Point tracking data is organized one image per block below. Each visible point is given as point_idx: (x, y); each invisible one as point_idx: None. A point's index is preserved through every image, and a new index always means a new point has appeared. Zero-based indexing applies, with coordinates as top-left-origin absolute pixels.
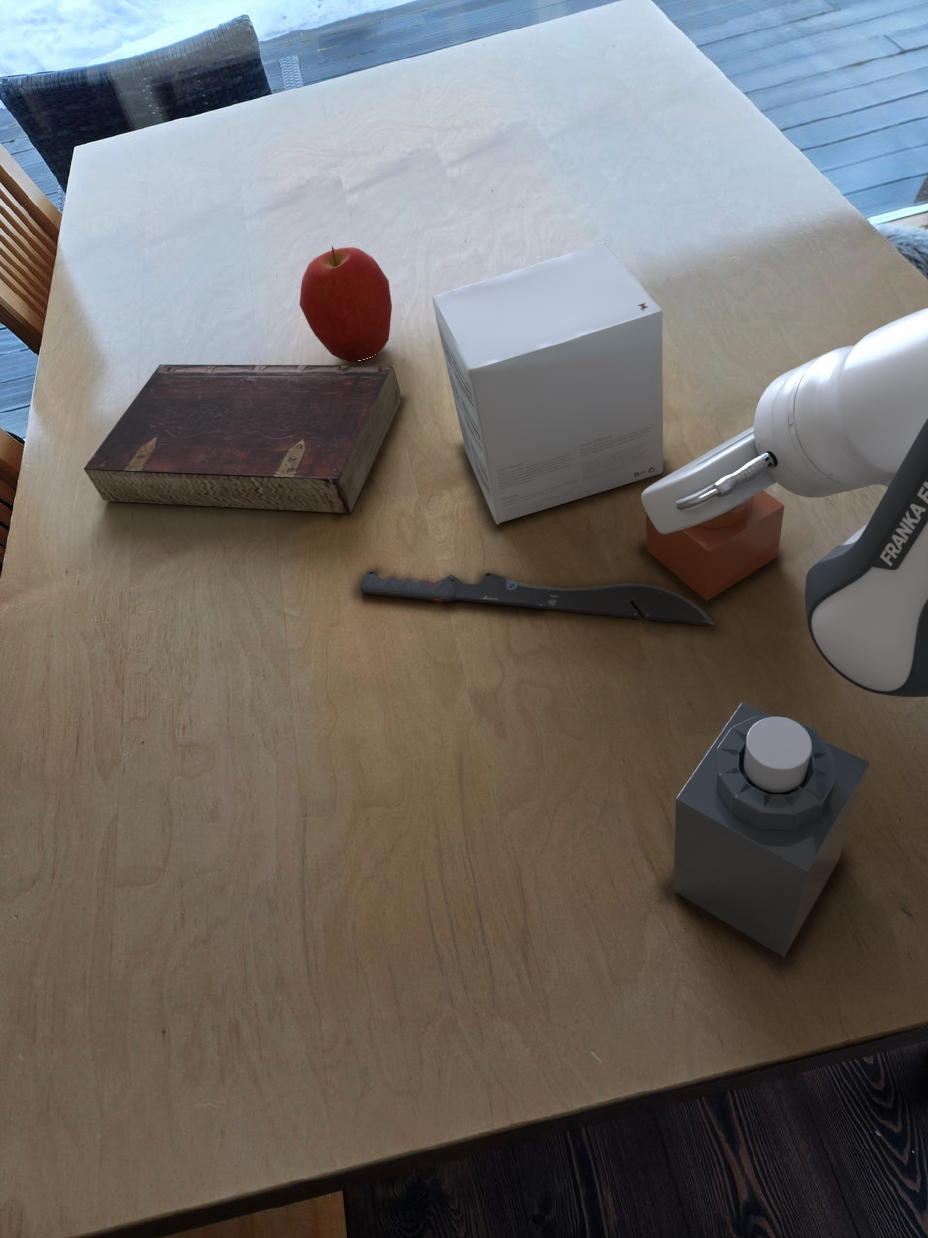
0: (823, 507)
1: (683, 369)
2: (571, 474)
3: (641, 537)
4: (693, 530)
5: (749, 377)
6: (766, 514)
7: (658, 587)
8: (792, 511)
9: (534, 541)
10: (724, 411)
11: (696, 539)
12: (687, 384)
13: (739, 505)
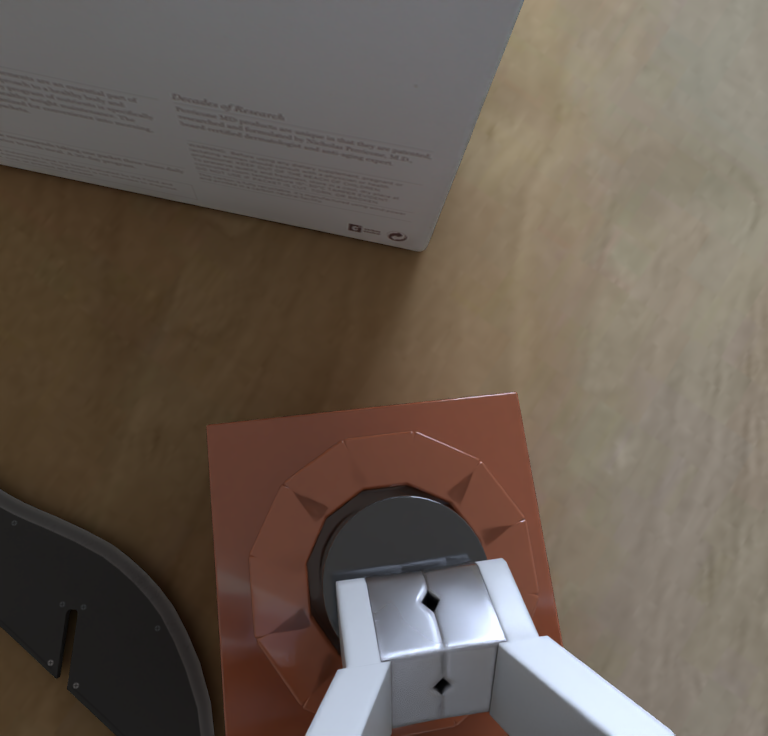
0: (689, 578)
1: (651, 3)
2: (160, 152)
3: (252, 407)
4: (248, 656)
5: (763, 111)
6: (502, 731)
7: (168, 604)
8: (618, 546)
9: (17, 262)
10: (659, 166)
11: (228, 705)
12: (633, 46)
13: (415, 728)
